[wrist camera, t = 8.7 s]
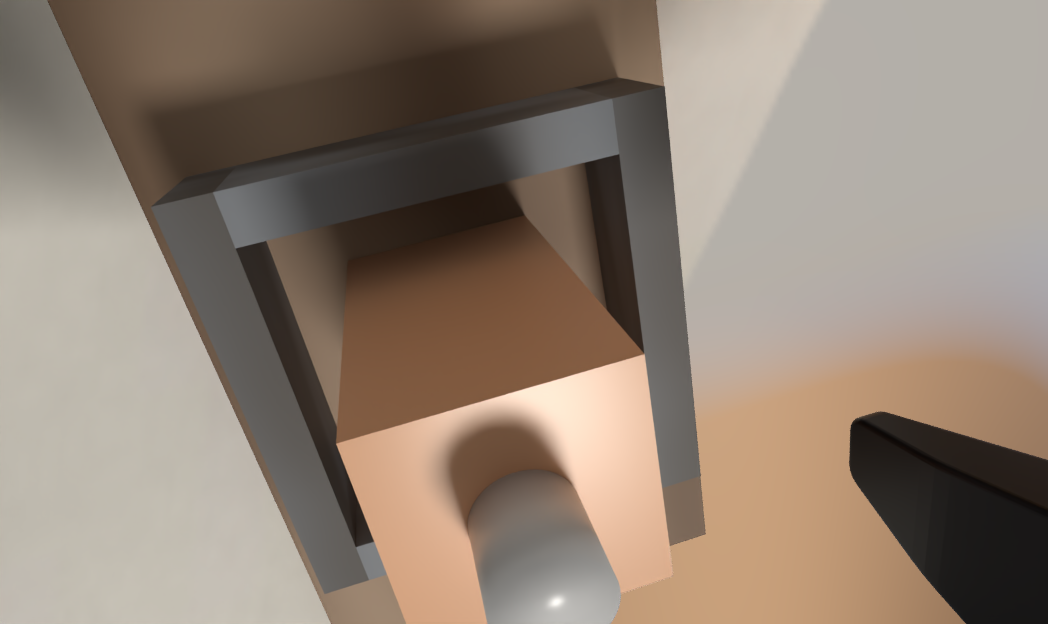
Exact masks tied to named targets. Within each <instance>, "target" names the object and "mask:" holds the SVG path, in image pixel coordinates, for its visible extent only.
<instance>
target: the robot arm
mask: <svg viewBox="0 0 1048 624" xmlns="http://www.w3.org/2000/svg"><path fill="white" fill-rule="evenodd" d="M849 465H850V471H851V474H852V477H853V479H854V480H855V482H856V484H857V485H858V487H859V488H860V489H861V491H862V492H863V493H864V495H865V496H866V498H867V499H868V500H869V502H870V503H871V505H872V506H873V507H874V509H875V510H876V511H877V513H878V514H879V516H880V517H881V518H882V520H883V521H884V522H885V524H886V525H887V526H888V528H889V529H890V531H891V532H892V533H893V535H894V536H895V538H896V539H897V540H898V542H899V543H900V544H901V546H902V547H903V549H904V550H905V551H906V553H907V554H908V555H909V557H910V558H911V560H912V561H913V562H914V563H915V565H916V566H917V567H918V569H919V570H920V571H921V573H922V574H923V575H924V576H925V577H926V579H927V580H928V581H929V582H930V583H931V585H932V586H933V587H934V588H935V589H936V590H937V592H938V593H939V594H940V595H941V596H942V597H943V598H944V599H945V601H946V602H947V603H948V604H949V605H950V606H951V607H952V609H954V611H955V612H956V613H957V614H958V615H959V616H960V618H961V619H962V620H963V621H964V622H965V623H966V624H1048V460H1046V459H1042V458H1039V457H1036V456H1033V455H1029V454H1026V453H1022V452H1019V451H1016V450H1012V449H1008V448H1006V447H1002V446H999V445H995V444H992V443H989V442H985V441H982V440H978V439H975V438H972V437H968V436H965V435H961V434H958V433H954V432H951V431H948V430H944V429H941V428H938V427H934V426H931V425H928V424H924V423H920V422H917V421H914V420H911V419H907V418H904V417H900V416H897V415H894V414H890V413H887V412H875V413H872V414H869V415H865V416H862V417H859V418H857V419H855V420H854V421H853V422H852V425H851V430H850V460H849Z"/></svg>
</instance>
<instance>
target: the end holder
mask: <svg viewBox="0 0 1048 624" xmlns="http://www.w3.org/2000/svg"><path fill="white" fill-rule="evenodd" d="M47 1H48V3H49V5H50V7H51V9H52V12H53V14H54V16H55V18H56V20H57V23H58V25H59V27H60V29H61V31H62V34H63V36H64V38H65V40H66V42H67V45H68V47H69V49H70V51H71V53H72V56H73V58H74V60H75V62H76V64H77V67H78V69H79V71H80V73H81V75H82V78H83V80H84V82H85V84H86V86H87V88H88V91H89V93H90V95H91V97H92V99H93V102H94V104H95V106H96V108H97V110H98V113H99V115H100V117H101V119H102V121H103V124H104V126H105V128H106V130H107V132H108V135H109V137H110V139H111V141H112V143H113V146H114V148H115V150H116V152H117V154H118V157H119V159H120V161H121V163H122V165H123V168H124V170H125V172H126V174H127V176H128V179H129V181H130V183H131V185H132V187H133V190H134V192H135V194H136V196H137V198H138V201H139V203H140V205H141V207H142V209H143V211H144V214H145V216H146V218H147V220H148V222H149V225H150V227H151V229H152V231H153V233H154V236H155V238H156V240H157V242H158V244H159V247H160V249H161V251H162V253H163V255H164V258H165V260H166V262H167V264H168V266H169V269H170V271H171V273H172V275H173V277H174V280H175V282H176V284H177V286H178V288H179V291H180V293H181V295H182V297H183V299H184V302H185V304H186V306H187V308H188V310H189V313H190V315H191V317H192V319H193V321H194V324H195V326H196V328H197V330H198V332H199V334H200V337H201V339H202V341H203V343H204V345H205V348H206V350H207V352H208V354H209V356H210V359H211V361H212V363H213V365H214V367H215V370H216V372H217V374H218V376H219V378H220V381H221V383H222V385H223V387H224V389H225V392H226V394H227V396H228V398H229V400H230V403H231V405H232V407H233V409H234V411H235V414H236V416H237V418H238V420H239V422H240V425H241V427H242V429H243V431H244V433H245V436H246V438H247V440H248V442H249V444H250V447H251V449H252V451H253V453H254V455H255V457H256V460H257V462H258V464H259V466H260V468H261V471H262V473H263V475H264V477H265V479H266V482H267V484H268V486H269V488H270V490H271V493H272V495H273V497H274V499H275V501H276V504H277V506H278V508H279V510H280V512H281V515H282V517H283V519H284V521H285V523H286V526H287V528H288V530H289V532H290V534H291V537H292V539H293V541H294V543H295V545H296V548H297V550H298V552H299V554H300V556H301V559H302V561H303V563H304V565H305V567H306V570H307V572H308V574H309V576H310V578H311V580H312V583H313V585H314V587H315V589H316V591H317V594H318V596H319V598H320V600H321V602H322V605H323V607H324V609H325V611H326V613H327V616H328V618H329V620H330V622H331V624H406V622H405V619H404V617H403V614H402V612H401V609H400V606H399V604H398V601H397V599H396V596H395V594H394V591H393V588H392V586H391V583H390V581H389V578H388V576H387V573H386V570H385V568H384V565H383V563H382V560H381V558H380V555H379V553H378V550H377V547H376V545H375V542H374V540H373V537H372V535H371V532H370V529H369V527H368V524H367V522H366V519H365V517H364V514H363V511H362V509H361V506H360V504H359V501H358V499H357V496H356V494H355V491H354V488H353V486H352V483H351V481H350V478H349V476H348V473H347V470H346V468H345V465H344V463H343V460H342V458H341V455H340V452H339V450H338V447H337V445H336V437H337V421H338V406H339V390H340V374H341V359H342V343H343V327H344V312H345V296H346V280H347V265H348V261H349V260H353V259H356V258H360V257H364V256H368V255H372V254H376V253H380V252H384V251H388V250H391V249H395V248H399V247H403V246H407V245H411V244H415V243H419V242H423V241H427V240H430V239H434V238H438V237H442V236H446V235H450V234H454V233H458V232H462V231H465V230H469V229H473V228H477V227H481V226H485V225H489V224H493V223H497V222H500V221H504V220H508V219H512V218H516V217H520V216H524V215H525V216H526V217H527V218H528V220H529V221H530V222H531V223H532V224H533V225H534V226H535V228H536V229H537V230H538V231H539V232H540V233H541V235H542V236H543V237H544V238H545V239H546V240H547V242H548V243H549V244H550V245H551V246H552V247H553V249H554V250H555V251H556V252H557V253H558V254H559V255H560V257H561V258H562V259H563V260H564V261H565V262H566V264H567V265H568V266H569V267H570V268H571V269H572V271H573V272H574V273H575V274H576V275H577V276H578V278H579V279H580V280H581V281H582V282H583V283H584V284H585V286H586V287H587V288H588V289H589V290H590V291H591V293H592V294H593V295H594V296H595V297H596V298H597V300H598V301H599V302H600V303H601V304H602V305H603V307H604V308H605V309H606V310H607V311H608V312H609V313H610V315H611V316H612V317H613V318H614V319H615V320H616V322H617V323H618V324H619V325H620V326H621V327H622V329H623V330H624V331H625V332H626V333H627V334H628V336H629V337H630V338H631V339H632V340H633V341H634V342H635V344H636V345H637V346H638V347H639V348H640V349H641V351H642V352H643V353H644V354H645V361H646V369H647V376H648V384H649V392H650V399H651V407H652V415H653V422H654V430H655V438H656V445H657V453H658V461H659V468H660V476H661V484H662V491H663V499H664V507H665V514H666V522H667V530H668V538H669V545H670V546H671V545H674V544H677V543H680V542H683V541H686V540H689V539H692V538H695V537H698V536H701V535H704V534H706V533H705V523H704V513H703V502H702V491H701V480H700V476H701V475H700V465H699V453H698V442H697V431H696V422H695V410H694V399H693V388H692V377H691V367H690V356H689V345H688V334H687V324H686V313H685V302H684V291H683V280H682V269H681V259H680V248H679V237H678V226H677V215H676V205H675V194H674V183H673V172H672V162H671V151H670V140H669V129H668V118H667V108H666V97H665V86H664V82H663V71H662V60H661V49H660V39H659V28H658V17H657V6H656V0H47Z"/></svg>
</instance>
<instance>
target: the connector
mask: <svg viewBox="0 0 1048 624" xmlns="http://www.w3.org/2000/svg"><path fill="white" fill-rule="evenodd" d="M336 445H337V447H338V450H339V452H340V455H341V458H342V460H343V463H344V465H345V468H346V470H347V473H348V476H349V478H350V481H351V483H352V486H353V488H354V491H355V494H356V496H357V499H358V501H359V504H360V506H361V509H362V511H363V514H364V517H365V519H366V522H367V524H368V527H369V529H370V532H371V535H372V537H373V540H374V542H375V545H376V547H377V550H378V553H379V555H380V558H381V560H382V563H383V565H384V568H385V570H386V573H387V576H388V578H389V581H390V583H391V586H392V588H393V591H394V594H395V596H396V599H397V601H398V604H399V606H400V609H401V612H402V614H403V617H404V619H405V622H406V624H610V623H611V622H612V621H613V619H614V617H615V615H616V613H617V611H618V608H619V604H620V598H621V593H624V592H628V591H631V590H634V589H637V588H640V587H642V586H646V585H649V584H651V583H654V582H657V581H660V580H663V579H666V578H669V577H672V576H673V568H672V561H671V554H670V545H669V538H668V530H667V522H666V514H665V507H664V499H663V491H662V484H661V476H660V468H659V461H658V453H657V445H656V438H655V430H654V422H653V415H652V407H651V399H650V392H649V384H648V376H647V369H646V361H645V354H644V353H643V352H642V351H641V349H640V348H639V347H638V346H637V345H636V344H635V342H634V341H633V340H632V339H631V338H630V337H629V336H628V334H627V333H626V332H625V331H624V330H623V329H622V327H621V326H620V325H619V324H618V323H617V322H616V320H615V319H614V318H613V317H612V316H611V315H610V313H609V312H608V311H607V310H606V309H605V308H604V307H603V305H602V304H601V303H600V302H599V301H598V300H597V298H596V297H595V296H594V295H593V294H592V293H591V291H590V290H589V289H588V288H587V287H586V286H585V284H584V283H583V282H582V281H581V280H580V279H579V278H578V276H577V275H576V274H575V273H574V272H573V271H572V269H571V268H570V267H569V266H568V265H567V264H566V262H565V261H564V260H563V259H562V258H561V257H560V255H559V254H558V253H557V252H556V251H555V250H554V249H553V247H552V246H551V245H550V244H549V243H548V242H547V240H546V239H545V238H544V237H543V236H542V235H541V233H540V232H539V231H538V230H537V229H536V228H535V226H534V225H533V224H532V223H531V222H530V221H529V220H528V218H527V217H526V216H525V215H524V216H520V217H516V218H512V219H508V220H504V221H500V222H497V223H493V224H489V225H485V226H481V227H477V228H473V229H469V230H465V231H462V232H458V233H454V234H450V235H446V236H442V237H438V238H434V239H430V240H427V241H423V242H419V243H415V244H411V245H407V246H403V247H399V248H395V249H391V250H388V251H384V252H380V253H376V254H372V255H368V256H364V257H360V258H356V259H353V260H349V261H348V265H347V280H346V296H345V312H344V327H343V343H342V359H341V374H340V390H339V406H338V421H337V437H336Z"/></svg>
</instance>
